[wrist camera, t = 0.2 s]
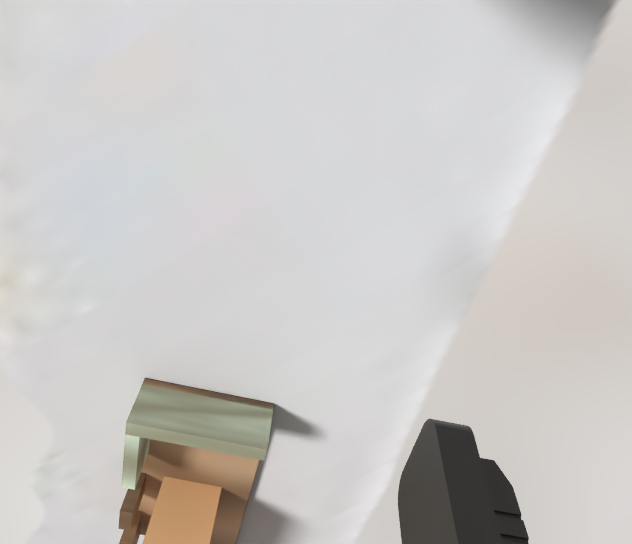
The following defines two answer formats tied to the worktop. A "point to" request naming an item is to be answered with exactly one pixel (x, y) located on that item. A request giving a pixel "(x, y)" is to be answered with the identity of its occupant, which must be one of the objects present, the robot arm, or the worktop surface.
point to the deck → (192, 452)
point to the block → (183, 513)
